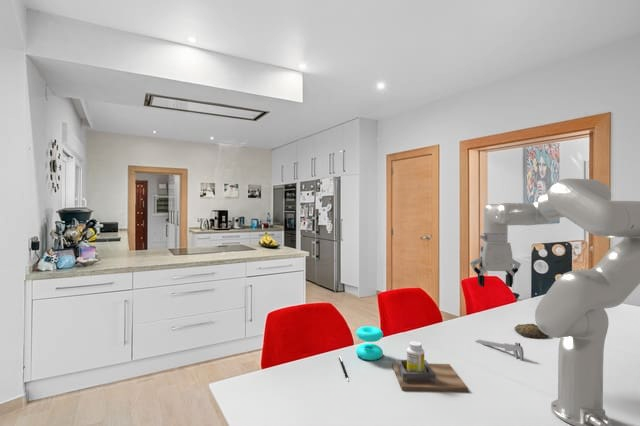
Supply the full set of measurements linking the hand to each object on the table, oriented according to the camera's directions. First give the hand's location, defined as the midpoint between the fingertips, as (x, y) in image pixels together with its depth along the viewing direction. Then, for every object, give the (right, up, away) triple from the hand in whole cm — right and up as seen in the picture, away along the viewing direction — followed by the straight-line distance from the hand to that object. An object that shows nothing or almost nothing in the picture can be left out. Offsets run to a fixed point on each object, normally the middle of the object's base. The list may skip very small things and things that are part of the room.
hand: (495, 286), depth 120 cm
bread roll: (+33, -29, +31) cm, 54 cm away
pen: (-55, -29, -3) cm, 62 cm away
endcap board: (-27, -28, -10) cm, 40 cm away
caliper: (+8, -29, +13) cm, 33 cm away
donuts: (-44, -28, +7) cm, 53 cm away
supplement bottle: (-31, -27, -10) cm, 43 cm away
